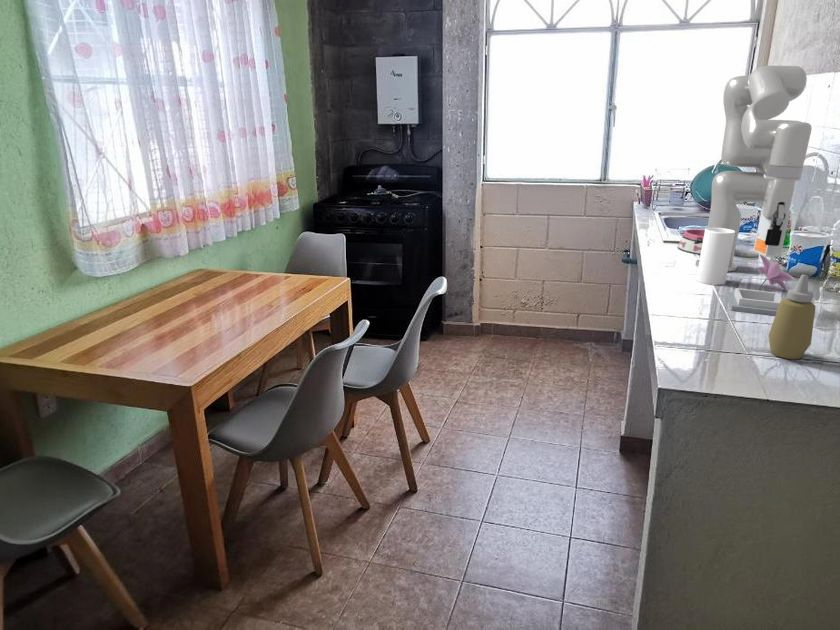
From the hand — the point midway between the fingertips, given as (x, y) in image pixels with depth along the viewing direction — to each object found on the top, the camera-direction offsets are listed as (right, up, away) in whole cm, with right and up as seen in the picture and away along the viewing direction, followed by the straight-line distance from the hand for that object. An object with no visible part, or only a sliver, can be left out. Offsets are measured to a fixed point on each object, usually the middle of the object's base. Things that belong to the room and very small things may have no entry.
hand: (769, 241), depth 159 cm
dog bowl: (+15, +5, +70) cm, 71 cm away
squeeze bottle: (-12, -28, -27) cm, 40 cm away
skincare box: (0, -3, +1) cm, 4 cm away
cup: (-2, -9, +28) cm, 30 cm away
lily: (+13, -12, +22) cm, 28 cm away
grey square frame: (0, -17, +6) cm, 18 cm away
